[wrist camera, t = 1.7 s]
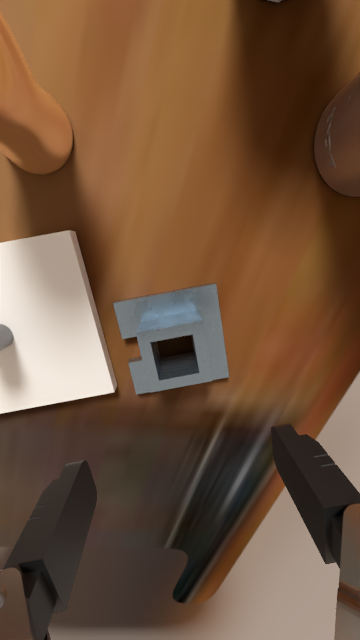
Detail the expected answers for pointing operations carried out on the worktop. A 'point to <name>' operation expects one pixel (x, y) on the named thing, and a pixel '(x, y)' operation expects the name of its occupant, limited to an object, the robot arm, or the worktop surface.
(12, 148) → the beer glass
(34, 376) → the post base
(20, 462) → the worktop surface
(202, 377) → the flange
